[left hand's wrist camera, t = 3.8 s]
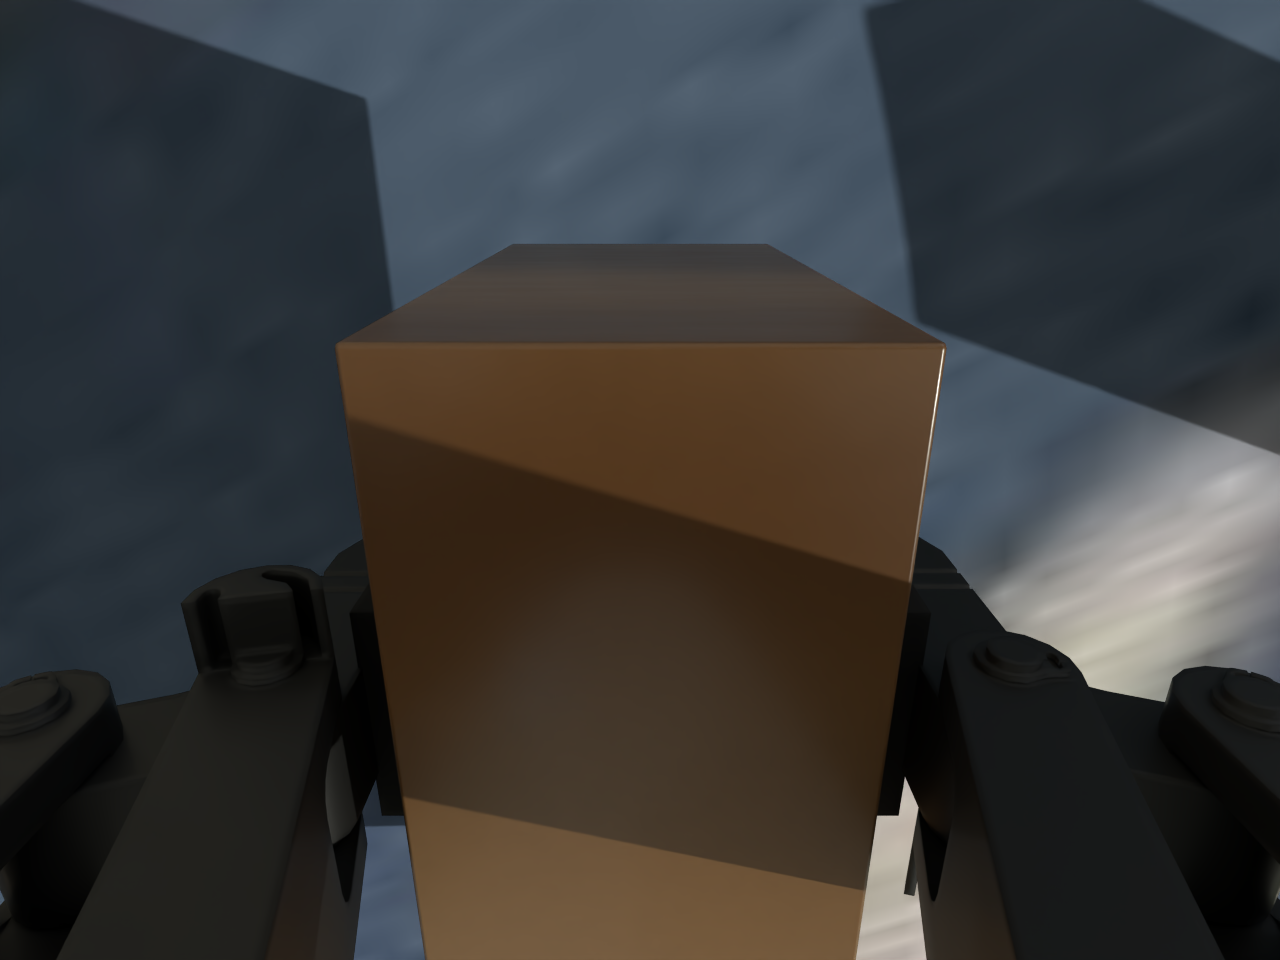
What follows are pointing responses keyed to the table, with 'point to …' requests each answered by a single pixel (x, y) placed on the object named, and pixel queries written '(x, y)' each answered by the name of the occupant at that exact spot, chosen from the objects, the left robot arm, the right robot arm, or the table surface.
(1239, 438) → the table surface
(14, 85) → the table surface
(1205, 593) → the table surface
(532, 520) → the bar
